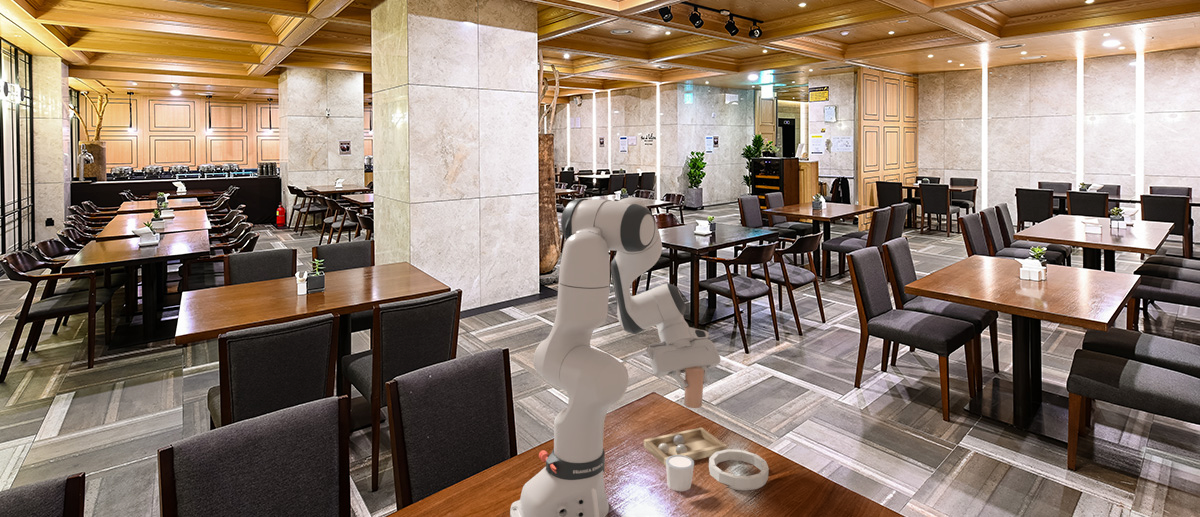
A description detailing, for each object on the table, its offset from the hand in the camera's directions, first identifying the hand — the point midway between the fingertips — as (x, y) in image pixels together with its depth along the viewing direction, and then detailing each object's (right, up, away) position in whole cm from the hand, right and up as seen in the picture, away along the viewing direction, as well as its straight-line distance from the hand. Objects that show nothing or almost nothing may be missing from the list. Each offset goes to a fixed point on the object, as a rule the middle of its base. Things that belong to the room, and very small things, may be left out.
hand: (695, 385), depth 164 cm
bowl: (+10, -21, -8) cm, 24 cm away
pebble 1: (-9, -18, 0) cm, 20 cm away
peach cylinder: (0, -5, +2) cm, 6 cm away
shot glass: (-6, -22, -14) cm, 27 cm away
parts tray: (-2, -19, +3) cm, 19 cm away
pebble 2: (-2, -16, +5) cm, 17 cm away
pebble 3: (-5, -16, 0) cm, 17 cm away
